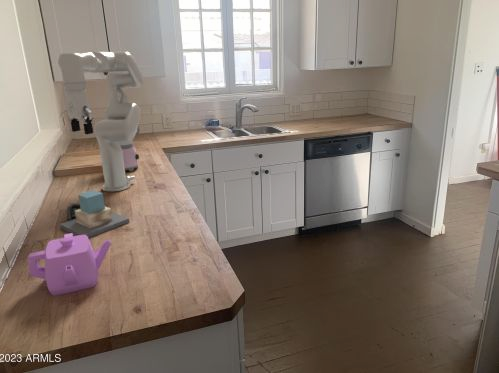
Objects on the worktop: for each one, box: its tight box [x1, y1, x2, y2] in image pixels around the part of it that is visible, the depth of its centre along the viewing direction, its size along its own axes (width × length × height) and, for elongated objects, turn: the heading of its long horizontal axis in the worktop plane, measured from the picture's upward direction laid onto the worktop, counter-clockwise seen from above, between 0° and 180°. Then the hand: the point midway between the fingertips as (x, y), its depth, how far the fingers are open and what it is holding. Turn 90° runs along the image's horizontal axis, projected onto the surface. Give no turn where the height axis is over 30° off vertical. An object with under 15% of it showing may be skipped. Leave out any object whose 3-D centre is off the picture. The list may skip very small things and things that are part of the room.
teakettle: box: [27, 232, 112, 297], centre depth 106 cm, size 17×17×12 cm
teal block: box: [77, 189, 106, 214], centre depth 141 cm, size 6×6×6 cm
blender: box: [117, 124, 140, 173], centre depth 208 cm, size 16×12×32 cm
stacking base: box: [59, 205, 130, 239], centre depth 142 cm, size 18×16×6 cm
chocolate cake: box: [65, 202, 81, 221], centre depth 150 cm, size 10×7×12 cm
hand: (82, 132), depth 154 cm, fingers open, 9 cm apart
